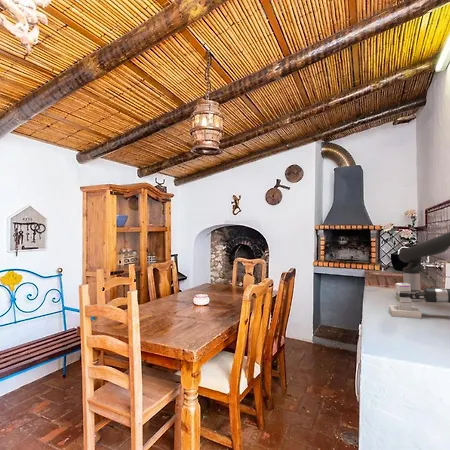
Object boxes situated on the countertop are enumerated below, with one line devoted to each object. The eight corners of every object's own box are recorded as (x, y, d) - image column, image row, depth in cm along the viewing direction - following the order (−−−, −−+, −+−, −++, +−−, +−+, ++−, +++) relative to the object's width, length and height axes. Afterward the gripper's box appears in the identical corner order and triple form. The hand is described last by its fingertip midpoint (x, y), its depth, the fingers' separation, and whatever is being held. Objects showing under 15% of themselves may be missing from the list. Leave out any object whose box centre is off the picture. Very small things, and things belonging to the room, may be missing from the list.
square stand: (388, 310, 167) (388, 305, 168) (416, 312, 163) (415, 306, 163) (392, 316, 155) (391, 310, 156) (421, 318, 151) (421, 312, 151)
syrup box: (412, 312, 156) (411, 284, 156) (400, 312, 157) (398, 284, 158) (408, 309, 161) (406, 282, 162) (396, 309, 162) (394, 282, 163)
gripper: (431, 285, 161) (396, 284, 167) (439, 290, 148) (400, 288, 154) (432, 299, 161) (396, 298, 167) (440, 305, 147) (401, 303, 154)
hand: (398, 293), depth 160 cm, fingers closed on syrup box, 6 cm apart
